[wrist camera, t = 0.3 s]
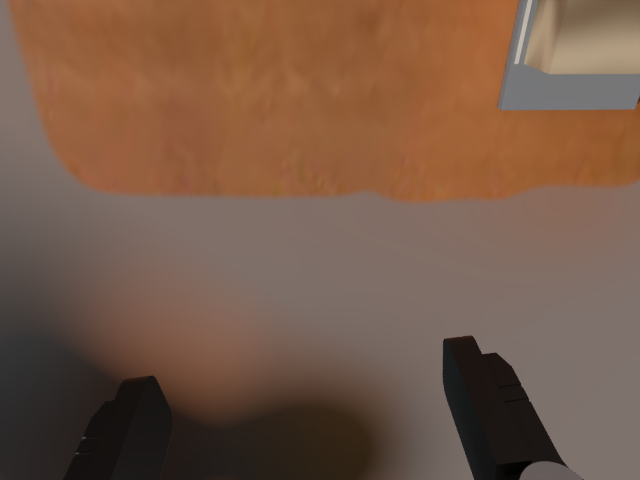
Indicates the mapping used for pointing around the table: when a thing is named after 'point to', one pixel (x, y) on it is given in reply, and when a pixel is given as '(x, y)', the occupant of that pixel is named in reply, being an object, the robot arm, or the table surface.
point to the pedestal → (585, 37)
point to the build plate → (558, 79)
